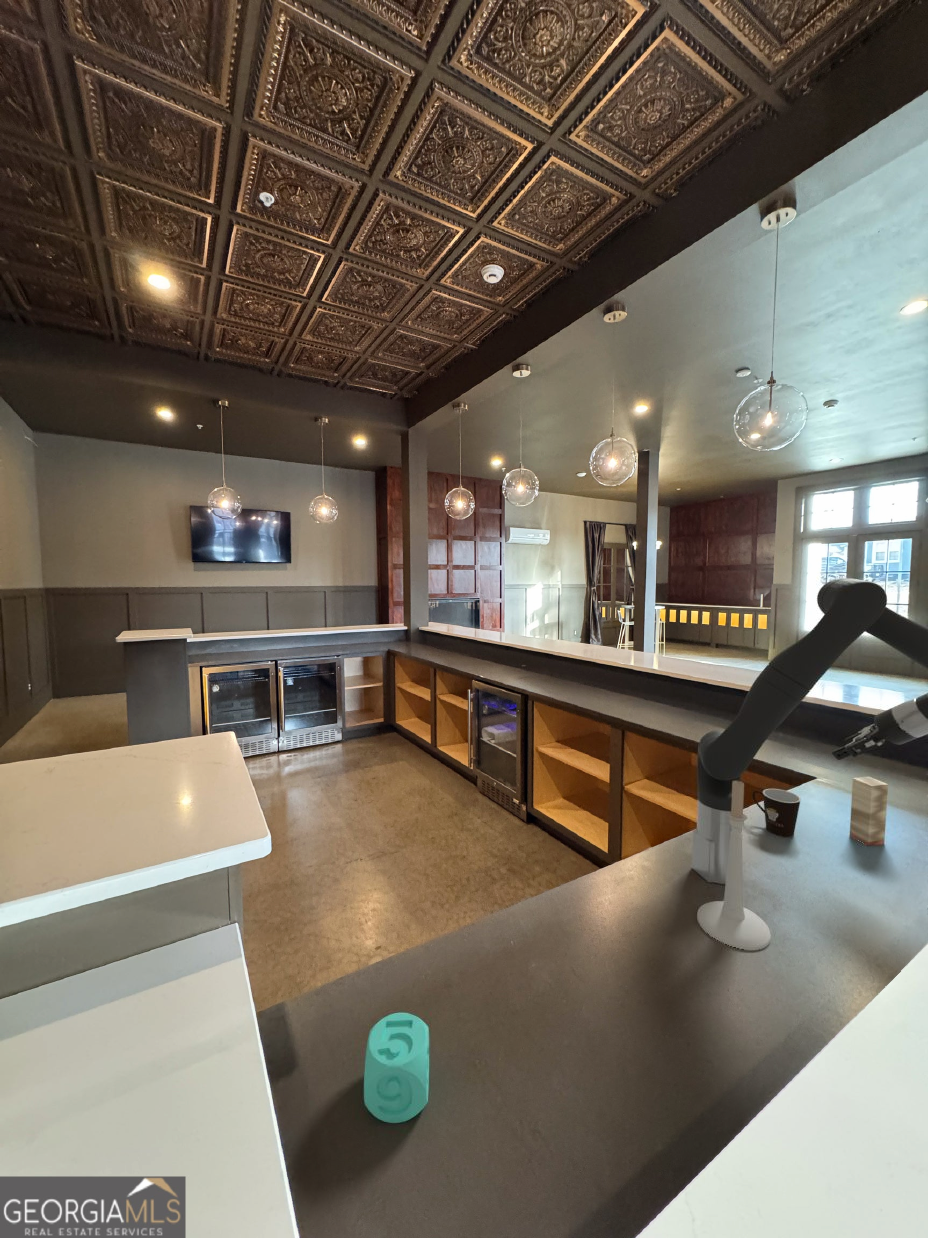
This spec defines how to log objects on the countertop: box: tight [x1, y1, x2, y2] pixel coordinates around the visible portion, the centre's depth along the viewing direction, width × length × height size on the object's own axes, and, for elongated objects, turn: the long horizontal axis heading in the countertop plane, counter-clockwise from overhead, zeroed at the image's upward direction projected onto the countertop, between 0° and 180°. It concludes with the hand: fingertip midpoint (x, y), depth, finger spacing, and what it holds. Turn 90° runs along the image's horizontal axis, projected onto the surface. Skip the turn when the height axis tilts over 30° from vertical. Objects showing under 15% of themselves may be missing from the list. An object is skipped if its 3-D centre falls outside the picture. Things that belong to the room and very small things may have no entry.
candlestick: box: [696, 780, 772, 951], centre depth 96 cm, size 13×13×30 cm
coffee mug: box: [752, 788, 801, 838], centre depth 134 cm, size 12×9×10 cm
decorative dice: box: [363, 1012, 430, 1124], centre depth 66 cm, size 8×8×8 cm
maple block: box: [849, 776, 889, 847], centre depth 127 cm, size 5×5×16 cm
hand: (841, 749), depth 121 cm, fingers open, 8 cm apart
